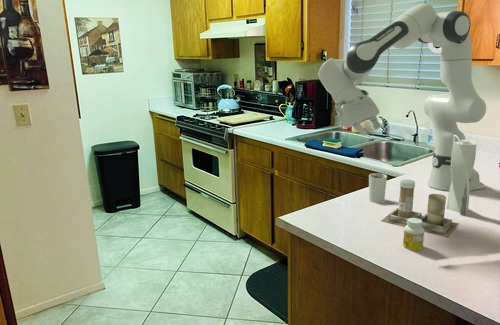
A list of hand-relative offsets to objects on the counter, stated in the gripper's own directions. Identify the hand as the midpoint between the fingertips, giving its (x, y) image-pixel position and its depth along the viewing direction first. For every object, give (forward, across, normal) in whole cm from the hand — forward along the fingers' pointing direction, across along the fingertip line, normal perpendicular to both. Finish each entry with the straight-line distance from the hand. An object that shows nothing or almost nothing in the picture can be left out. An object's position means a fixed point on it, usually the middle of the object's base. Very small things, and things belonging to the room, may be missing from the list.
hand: (371, 131), depth 139 cm
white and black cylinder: (+21, +11, +22) cm, 33 cm away
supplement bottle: (+38, -22, 0) cm, 43 cm away
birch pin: (+37, -3, 0) cm, 37 cm away
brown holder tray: (+35, -3, +5) cm, 35 cm away
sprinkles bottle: (+31, -4, +7) cm, 32 cm away
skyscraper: (+40, +16, +1) cm, 43 cm away
